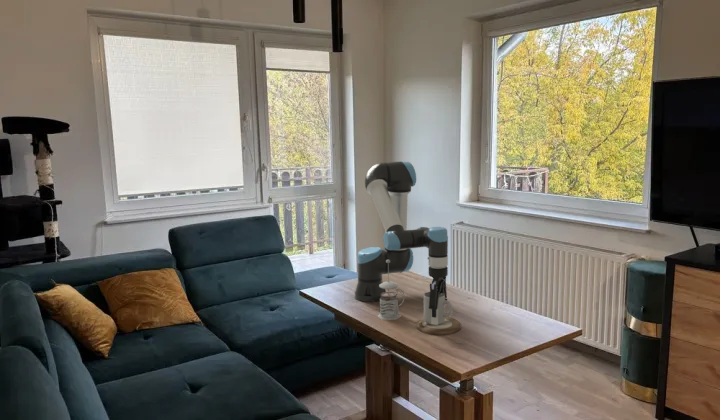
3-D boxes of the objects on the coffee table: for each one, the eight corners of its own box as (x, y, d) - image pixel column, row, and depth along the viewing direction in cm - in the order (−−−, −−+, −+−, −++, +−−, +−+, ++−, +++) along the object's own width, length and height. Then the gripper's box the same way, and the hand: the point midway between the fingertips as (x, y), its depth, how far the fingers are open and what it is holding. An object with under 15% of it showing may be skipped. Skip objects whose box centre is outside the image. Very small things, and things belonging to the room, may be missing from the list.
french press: (381, 311, 231) (380, 256, 227) (407, 313, 227) (406, 257, 223) (374, 318, 222) (373, 261, 218) (401, 321, 218) (400, 263, 214)
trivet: (407, 324, 214) (406, 318, 214) (439, 315, 224) (439, 309, 224) (436, 338, 199) (436, 332, 199) (470, 327, 209) (470, 321, 209)
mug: (420, 322, 211) (419, 296, 209) (429, 315, 218) (429, 290, 216) (447, 327, 204) (447, 300, 203) (456, 320, 212) (456, 294, 210)
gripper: (437, 259, 219) (437, 310, 222) (420, 272, 200) (420, 328, 204) (454, 260, 216) (454, 313, 219) (438, 274, 197) (439, 331, 200)
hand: (438, 320), depth 211 cm, fingers closed on mug, 8 cm apart
